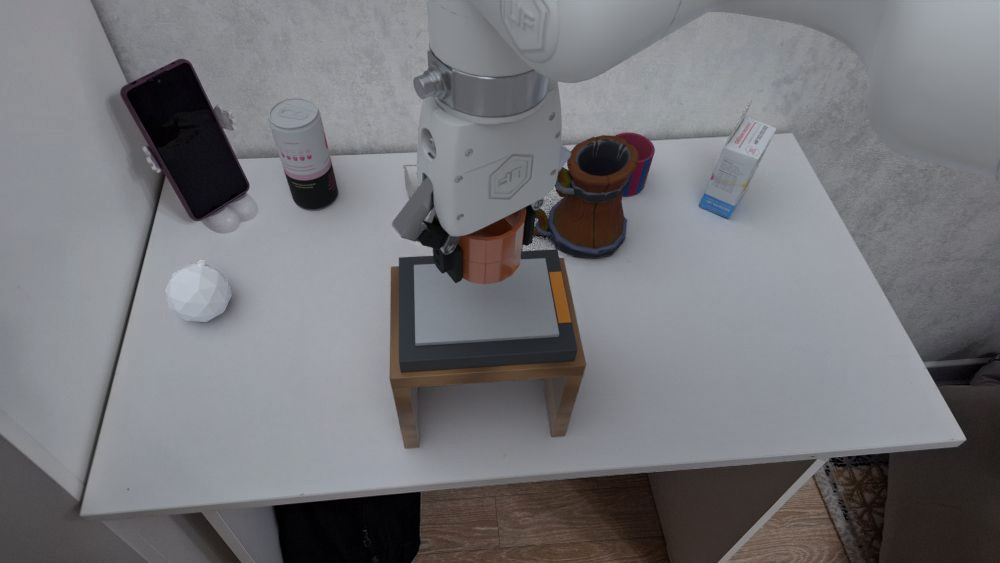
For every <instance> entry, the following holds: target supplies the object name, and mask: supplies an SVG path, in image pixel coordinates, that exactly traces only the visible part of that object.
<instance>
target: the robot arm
mask: <svg viewBox="0 0 1000 563" xmlns="http://www.w3.org/2000/svg"><path fill="white" fill-rule="evenodd" d="M426 12H427V14H426V15H427V25H428V26H427V30H428V48H429V50H428V51H427V52H426V53H427V70H424V71H423V73H422V74H421V75H418V76H415V77H414V78H413V87H414V91H415V93H416V95H417V96H418V97H419V98H420V99H421V100H422V103H421V105H420V106H421V107H420V112H419V113H420V114H419V120H418V129H417V142H416V143H417V144H416V165H417V166H416V176H417V188H416V190H414V194H413V195H412V197H411V198H410V199H409V198H408V201H406V203H405V204H404V206H403V207H402V209H401V210H400V211H399V212H398V214H397V215H396V216H395V218H394V219H393V220H392V222H391V226H392V228H393V229H394V230H395V231H396V233H397V234H398V235H399V237H400V238H402V239H405V240H408V241H412V242H415V243H416V242H418V243H420V244H421V245H422V246H423V247H427V248H431V249H432V256H433V260H434V263H435V265H436V267H437V268H438V270H439V271H440V272H441V273H442V274H443V273H445V272H447V274H448V275H449V276H450V277H451V279H452V280H453V281H454V282H455V283H458V282H460V281H461V280H462V278H463V251H462V249H461V247H460V246H459V245H458V242H459V240H460V237H461V236H464V235H468V234H471V233H473V232H475V231H478V230H480V229H482V228H484V227H486V226H488V225H490V224H492V223H494V222H496V221H498V220H500V219H502V218H505V217H507V216H509V215H511V214H513V213H515V212H517V211H518V210H520V209H522V208H524V207H525V208H526V220H525V229H524V238H523V246H525V247H527V246H530V245H531V244H533V240H534V235H533V233H534V227H535V225H536V218H535V217H536V210H538V209H539V208H541V209H542V207H543V205H544V204H545V198H544V197H546V196H547V195H549V194H550V193H551V192H552V191H553V189H554V188H555V184H556V181H557V176H558V172H559V171H560V170H561V169H562V167H564V166H565V165H566V164H567V161H568V159H569V158H570V156H571V150H570V149H568V148H567V147H566V146H565V145H564V144H563V143H562V128H563V125H562V124H563V120H562V118H563V117H562V104H561V96H560V89H559V83H562V84H563V83H565V84H576V83H581V82H585V81H589V80H592V79H594V78H596V77H598V76H600V75H603V74H605V73H606V72H608V71H609V70H611V69H613V68H616V66H618V65H620V64H622V63H623V62H625V61H628V59H631V58H632V57H634V56H636V55H638V54H639V53H641V52H643V51H644V50H646V49H648V48H649V47H651V46H652V45H654V44H656V43H658V42H659V41H661V40H663V39H664V38H667V36H669V35H671V34H673V33H675V32H676V31H678V30H680V29H682V28H683V27H685V26H687V25H688V24H690V23H692V22H693V21H696V20H698V19H699V18H701V17H703V16H705V15H706V14H708V13H725V14H735V15H743V16H749V17H755V18H762V19H767V20H774V21H779V22H784V23H785V22H786V23H790V24H794V25H798V26H801V27H805V28H809V29H811V30H815V31H818V32H820V33H822V34H825V35H827V36H829V37H831V38H833V39H835V40H837V41H838V42H840V43H841V44H843V45H844V46H846V47H847V48H848V49H849V50H850V51H851V52H852V53H853V54H854V55H856V57H857V59H858V60H859V61H860V63H861V64H862V65H863V68H864V70H865V72H866V75H867V84H866V110H867V115H868V119H869V122H870V126H871V129H872V131H873V132H874V134H875V135H876V137H877V138H878V139H879V141H880V142H881V143H882V144H883V145H885V146H886V147H887V148H888V149H889V150H891V151H892V152H895V153H896V154H899V155H901V156H903V157H906V158H909V159H913V160H917V161H920V162H924V163H928V164H932V165H934V166H935V165H936V166H938V167H939V166H940V167H945V168H947V169H951V170H955V171H958V172H962V173H966V174H969V175H970V174H971V175H973V176H978V177H981V178H985V179H988V180H991V181H996V182H1000V0H426ZM428 215H429V216H428ZM427 217H428V219H427V221H426V220H425V219H426V218H427Z"/></svg>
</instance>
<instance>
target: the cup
mask: <svg viewBox="0 0 1000 563" xmlns="http://www.w3.org/2000/svg"><path fill="white" fill-rule="evenodd" d="M614 136H618V137H620V138H622V139H624V140H627V142H628V143H629V144H630V145H633V146H635V148H636V149H637V151H638V152H639V154H640V155H639V164H638V165H637V168H636V169H635V170H634V172H633V173H632V174H631V176H630V177H629V185H628V186H627V187H626V189H625V190H624V191H623V196H622V197H633V196H635V195H638V194H640V193H641V192H642V191H643V190H644V188H645V185H646V182H647V179H648V176H649V172H650V169H651V165H652V162H653V160H654V156H655V152H656V150H655V149H656V148H655V145H654V144H653V142H652V141H651V140H650V139H649V138H647V137H645V136H644V135H642V134H639V133H636V132H621V133H618V134H615V135H614Z"/></svg>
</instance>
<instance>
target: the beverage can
mask: <svg viewBox="0 0 1000 563" xmlns="http://www.w3.org/2000/svg"><path fill="white" fill-rule="evenodd" d="M267 117H268V118H267V122H268V125H269V128H270V132H271V134H272V137H273V138H272V139H273V141H274V144H275V147H276V150H277V154H278V157H279V159H280V162H281V165H282V168H283V171H284V175H285V178H286V181H287V185H288V187H289V191H290V194H291V197H292V200H293V202H294V204H296V206H298V207H299V208H302V209H304V210H308V211H309V210H310V211H316V210H317V211H318V210H321V209H325V208H327V207H329V206H330V205H331V204H333V203H334V202H335V201H336V199H337V198H338V196H339V188H338V182H337V178H336V175H335V171H334V170H335V169H334V167H333V162H332V157H331V153H330V149H329V144H328V140H327V136H326V132H325V128H324V122H323V120H322V115H321V111H320V109H319V108H318V106H317V103H315V102H314V101H313V100H311V99H309V98H306V97H301V96H300V97H299V96H294V97H287V98H283V99H281V100H278V101H277V102H275V103H274V104H273V105H271V107H270V108H269V110H268V113H267Z"/></svg>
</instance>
